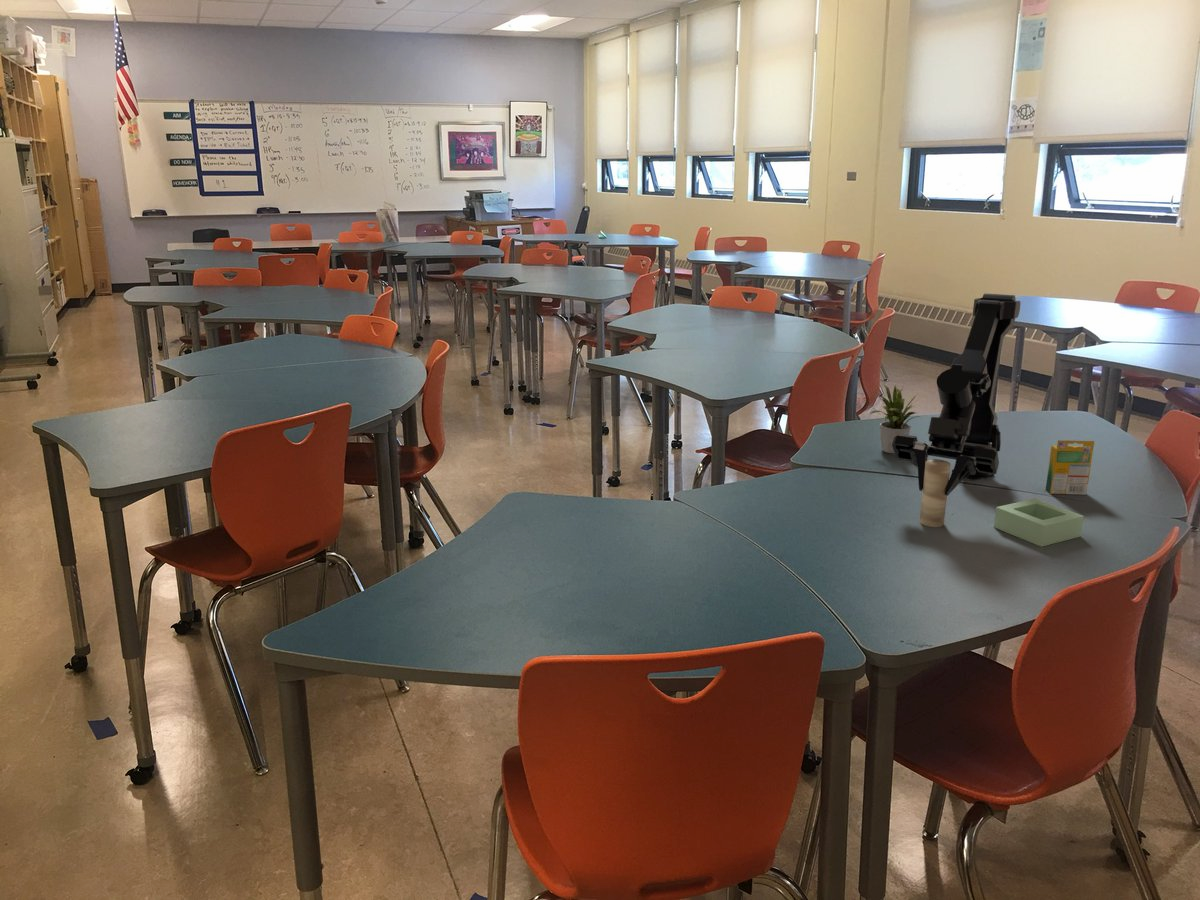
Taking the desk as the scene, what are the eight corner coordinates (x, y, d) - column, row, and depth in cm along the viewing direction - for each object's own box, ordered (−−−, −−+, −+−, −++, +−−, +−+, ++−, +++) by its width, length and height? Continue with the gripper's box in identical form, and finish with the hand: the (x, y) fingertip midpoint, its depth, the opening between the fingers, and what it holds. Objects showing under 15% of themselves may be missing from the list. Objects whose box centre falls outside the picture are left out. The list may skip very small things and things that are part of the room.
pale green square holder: (1032, 517, 174) (1035, 498, 173) (1080, 536, 165) (1084, 516, 164) (993, 527, 170) (996, 507, 168) (1041, 546, 161) (1044, 525, 160)
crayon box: (1081, 490, 189) (1089, 437, 185) (1086, 495, 186) (1095, 441, 182) (1044, 489, 189) (1052, 436, 186) (1049, 494, 187) (1057, 440, 183)
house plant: (846, 443, 222) (851, 378, 217) (894, 438, 226) (900, 374, 221) (880, 460, 209) (886, 391, 204) (931, 454, 213) (938, 387, 208)
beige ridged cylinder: (931, 517, 175) (937, 458, 171) (949, 524, 171) (955, 464, 167) (914, 520, 173) (920, 461, 169) (931, 528, 169) (938, 467, 166)
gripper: (899, 393, 173) (876, 462, 168) (1003, 406, 163) (982, 480, 158) (907, 423, 182) (885, 490, 176) (1006, 437, 172) (987, 509, 166)
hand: (933, 492), depth 169 cm, fingers closed on beige ridged cylinder, 4 cm apart
